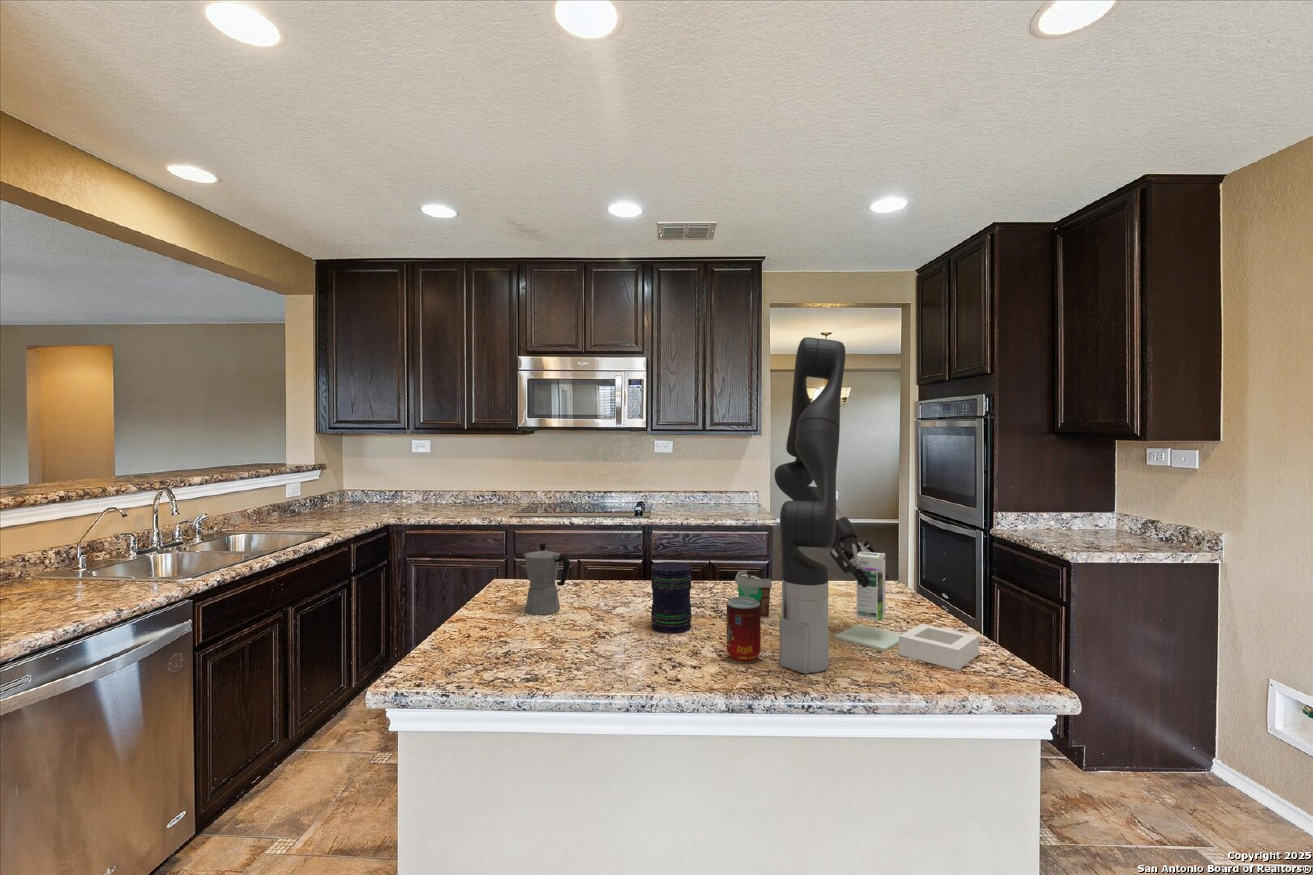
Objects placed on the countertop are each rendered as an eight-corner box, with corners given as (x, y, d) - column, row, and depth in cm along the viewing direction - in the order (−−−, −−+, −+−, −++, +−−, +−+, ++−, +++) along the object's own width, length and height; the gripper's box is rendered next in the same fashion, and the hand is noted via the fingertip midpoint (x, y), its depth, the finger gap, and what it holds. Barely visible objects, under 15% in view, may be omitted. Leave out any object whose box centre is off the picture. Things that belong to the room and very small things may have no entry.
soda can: (723, 652, 130) (723, 595, 130) (755, 651, 130) (756, 594, 130) (730, 665, 123) (730, 604, 123) (764, 664, 123) (764, 604, 123)
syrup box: (855, 617, 138) (855, 554, 138) (860, 610, 143) (860, 549, 143) (882, 621, 135) (882, 557, 135) (885, 614, 140) (885, 552, 140)
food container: (726, 608, 163) (726, 571, 163) (745, 605, 166) (745, 569, 166) (751, 621, 152) (751, 581, 152) (772, 617, 155) (772, 578, 155)
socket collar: (958, 670, 120) (958, 649, 120) (898, 654, 128) (898, 635, 128) (978, 654, 128) (978, 635, 128) (921, 641, 137) (921, 623, 137)
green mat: (885, 651, 130) (885, 648, 130) (834, 638, 139) (834, 635, 139) (908, 638, 139) (908, 635, 139) (859, 626, 147) (859, 624, 147)
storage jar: (675, 636, 140) (675, 572, 140) (642, 628, 146) (642, 567, 146) (699, 626, 148) (699, 565, 148) (667, 618, 154) (667, 560, 154)
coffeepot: (511, 612, 160) (511, 544, 160) (534, 603, 169) (534, 539, 169) (558, 620, 153) (558, 549, 153) (580, 610, 162) (579, 543, 161)
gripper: (825, 518, 140) (870, 578, 131) (859, 513, 149) (904, 568, 140) (806, 538, 144) (849, 597, 135) (841, 531, 153) (883, 586, 145)
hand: (877, 582), depth 138 cm, fingers closed on syrup box, 7 cm apart
